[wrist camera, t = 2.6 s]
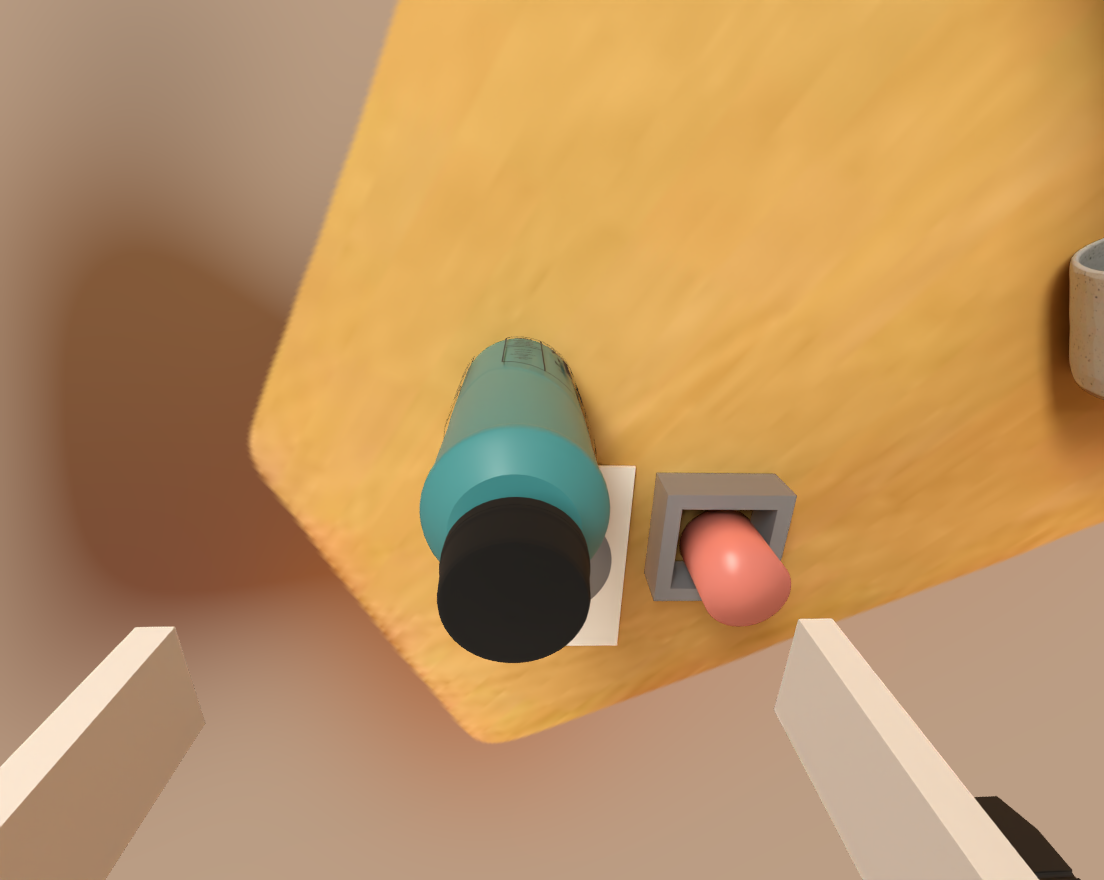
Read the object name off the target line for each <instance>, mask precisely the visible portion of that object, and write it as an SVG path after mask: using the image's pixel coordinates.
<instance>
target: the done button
mask: <svg viewBox="0 0 1104 880" xmlns="http://www.w3.org/2000/svg"><path fill="white" fill-rule="evenodd" d="M679 549H680V554H681V556H682V558H683V560H684V563H685V565H686V567H687V569H688V571H689V573H690V575H691V578H692V580H693V582H694V584H695V586H696V588H697V591H698V593H699V595H700V597H701V599H702V601H703V603H704V606H705V608H706V610H707V611H708V613H709V614H710V615H711V616H712V617H713V618H714V619H715V620H717V621H719V622H721V623H723V624H726V625H730V626H749V625H753V624H757V623H760V622H762V621H764V620H766V619H768V618H770V617H771V616H773V615H774V614H775V613H776V612H778V611H779V610H780V609H781V607H782V606H783V605H784V604H785V602H786V601H787V599H788V597H789V594H790V590H791V578H790V575H789V573H788V571H787V569H786V568H785V567H784V565H783V564H782V563H781V561H780V560H779V559H778V557H777V556H776V555H775V553H774V552H773V551H772V549H771V548H770V547H769V545H768V544H767V543H766V541H765V540H764V539H763V537H762V536H761V535H760V533H759V532H758V531H757V529H756V528H755V527H754V525H753V524H752V523H751V521H750V520H749V519H748V518H747V517H746V516H745V515H744V514H742V513H740V512H738V511H735V510H710V511H707V512H704V513H702V514H700V515H698V516H697V517H695V518H694V519H693V520H692V521H691V522H690V523H689V524H688V525H687V526H686V527H685V529H684V531H683V532H682V535H681V537H680V542H679Z"/></svg>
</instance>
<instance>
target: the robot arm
mask: <svg viewBox="0 0 1104 880" xmlns="http://www.w3.org/2000/svg"><path fill="white" fill-rule="evenodd" d="M774 711H775V713H776V715H777V717H778V719H779V721H780V723H781V725H782V726H783V728H784V730H785V732H786V734H787V736H788V738H789V740H790V741H791V744H792V746H793V748H794V749H795V751H796V753H797V755H798V757H799V759H800V761H801V763H802V765H803V767H804V769H805V771H806V773H807V774H808V776H809V778H810V780H811V782H812V784H813V786H814V787H815V789H816V792H817V794H818V795H819V797H820V799H821V801H822V803H823V805H824V807H825V809H826V810H827V813H828V814H829V817H830V819H831V820H832V822H833V824H834V826H835V828H836V830H837V832H838V834H839V836H840V838H841V840H842V842H843V844H844V845H845V847H846V849H847V851H848V853H849V855H850V857H851V859H852V861H853V863H854V865H855V867H856V868H857V870H858V872H859V874H860V876H861V878H862V880H1080V879H1079V878H1076V877H1075V876H1074V875H1073V873H1072V869H1071V868H1070V867H1069V866H1068V865H1067V863H1066V862H1065V861H1064V860H1063V859H1062V858H1061V856H1060V855H1059V854H1058V853H1057V852H1056V851H1055V849H1054V848H1053V847H1052V846H1051V845H1050V844H1049V842H1048V841H1047V840H1046V839H1045V838H1044V837H1043V835H1042V834H1041V833H1040V832H1039V831H1038V830H1037V829H1036V828H1035V827H1034V826H1033V825H1031V824H1030V823H1029V822H1028V821H1027V820H1025V819H1024V818H1023V817H1022V816H1020V815H1019V814H1018V813H1017V812H1015V811H1014V810H1013V809H1012V808H1011V807H1009V806H1008V805H1007V804H1006V803H1004V802H1003V801H1002V800H1001V799H1000V798H998V797H997V796H995V797H994V796H993V797H973V796H972V795H971V793H970V792H969V791H968V789H967V788H966V787H965V786H964V784H963V783H962V782H961V780H960V779H959V778H958V777H957V776H956V774H955V773H954V772H953V770H952V769H951V768H950V767H949V765H948V764H947V763H946V762H945V760H944V759H943V758H942V757H941V755H940V754H939V753H938V751H937V750H936V749H935V748H934V746H933V745H932V744H931V743H930V742H929V740H928V739H927V738H926V736H925V735H924V734H923V733H922V731H921V730H920V729H919V727H918V726H917V725H916V724H915V723H914V721H913V720H912V719H911V717H910V716H909V715H908V714H907V713H906V711H905V710H904V709H903V707H902V706H901V705H900V704H899V702H898V701H897V700H896V699H895V698H894V696H893V695H892V693H891V692H890V691H889V690H888V688H887V687H886V686H885V685H884V683H883V682H882V681H881V680H880V678H879V677H878V676H877V674H876V673H875V672H874V671H873V670H872V668H871V667H870V666H869V665H868V663H867V662H866V661H865V659H864V658H863V657H862V656H861V654H860V653H859V652H858V651H857V649H856V648H855V647H854V646H853V644H852V643H851V642H850V640H849V639H848V638H847V637H846V635H845V634H844V633H843V632H842V630H841V629H840V628H839V627H838V625H837V624H836V623H835V621H834V620H833V619H798V623H797V626H796V630H795V634H794V637H793V641H792V645H791V648H790V652H789V656H788V660H787V663H786V667H785V670H784V674H783V678H782V682H781V685H780V689H779V693H778V697H777V700H776V704H775V707H774ZM204 725H205V720H204V717H203V714H202V711H201V707H200V704H199V701H198V698H197V695H196V692H195V688H194V685H193V682H192V679H191V676H190V673H189V670H188V667H187V663H186V660H185V657H184V654H183V651H182V648H181V644H180V641H179V638H178V635H177V632H176V629H175V627H135V628H134V629H133V630H132V632H131V633H130V634H129V635H128V636H127V637H126V638H125V639H124V640H123V641H122V642H121V643H120V644H119V645H118V646H117V647H116V648H115V649H114V650H113V651H112V652H111V653H110V654H109V655H108V656H107V657H106V658H105V659H104V660H103V661H102V663H101V664H100V665H99V666H98V667H97V668H96V669H95V670H94V671H93V672H92V673H91V674H90V675H89V676H88V677H87V678H86V679H85V680H84V681H83V682H82V683H81V684H80V685H79V686H78V687H77V688H76V689H75V690H74V691H73V692H72V693H71V694H70V696H68V698H67V699H66V700H65V701H64V702H63V703H62V704H61V705H60V706H59V707H58V708H57V709H56V710H55V711H54V712H53V713H52V714H51V715H50V716H49V717H48V718H47V719H46V720H45V721H44V722H43V723H42V724H41V725H40V726H39V728H37V730H36V731H35V732H34V733H33V734H32V735H31V736H30V737H29V738H28V739H27V740H26V741H25V742H24V743H23V744H22V745H21V746H20V747H19V748H18V749H17V750H16V751H15V752H14V753H13V754H12V755H11V756H10V757H9V758H8V759H7V761H6V762H5V763H4V764H3V765H2V766H1V767H0V880H105V879H106V878H107V876H108V875H109V873H110V872H111V870H112V868H113V867H114V865H115V864H116V862H117V861H118V859H119V857H120V856H121V854H122V853H123V851H124V850H125V848H126V847H127V845H128V843H129V842H130V840H131V839H132V837H133V836H134V834H135V832H136V831H137V829H138V828H139V826H140V825H141V823H142V822H143V820H144V818H145V817H146V815H147V814H148V812H149V811H150V809H151V808H152V806H153V804H154V803H155V801H156V800H157V798H158V797H159V795H160V793H161V792H162V790H163V789H164V787H165V786H166V784H167V783H168V781H169V779H170V778H171V776H172V775H173V773H174V772H175V770H176V768H177V767H178V765H179V764H180V762H181V761H182V759H183V758H184V756H185V754H186V753H187V751H188V750H189V748H190V747H191V745H192V744H193V742H194V740H195V739H196V737H197V736H198V734H199V733H200V731H201V729H202V728H203V726H204Z"/></svg>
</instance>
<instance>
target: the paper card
mask: <svg viewBox="0 0 1104 880" xmlns="http://www.w3.org/2000/svg"><path fill="white" fill-rule="evenodd" d="M598 467H599V469H600V470H601V472H602V474H603V477H604V479H605V482H606V485H607V489H608V493H609V499H610V519H609V524H608V528H607V531H606V534H605V537H604V539H603V541H602V543H601V545H600V547H599V549H598V550H597V552H596V553H595V555H594V556H593V558H592V559H591V560H590V570H591V572H590V592H591V602H590V608H589V612H588V615H587V619H586V621H585V623H584V625H583V627H582V628H581V630H580V631H579V633H578V634H577V635H576V636H575V638H574V639H573V640H572V641H571V642H570V643H568V644H567V645H566V646H600V645H617V639H618V630H619V620H620V611H621V601H622V592H623V582H624V573H625V564H626V554H627V545H628V535H629V526H630V516H631V507H632V497H633V488H634V479H635V469H636V467H635V466H610V465H598Z"/></svg>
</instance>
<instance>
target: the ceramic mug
mask: <svg viewBox="0 0 1104 880" xmlns="http://www.w3.org/2000/svg"><path fill="white" fill-rule="evenodd" d="M1069 278H1070V303H1069V319H1070V338H1069V362H1070V367H1071V372H1072V375H1073V377H1074V379H1075V382H1076V383H1077V384H1078V386H1080V387H1081V388H1082V389H1083V390H1084V391H1086V392H1087V393H1089V394H1091V395H1093V396H1095V397H1098V398H1100V399H1103V400H1104V238H1103V239H1101V240H1098V241H1095V242H1093V243H1091V244H1089V245H1087V246H1085V247H1083V248H1082V249H1080V250H1079V251H1077V252H1076V253H1075V254H1074V256H1073V257H1072V258H1071V262H1070V268H1069Z"/></svg>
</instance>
